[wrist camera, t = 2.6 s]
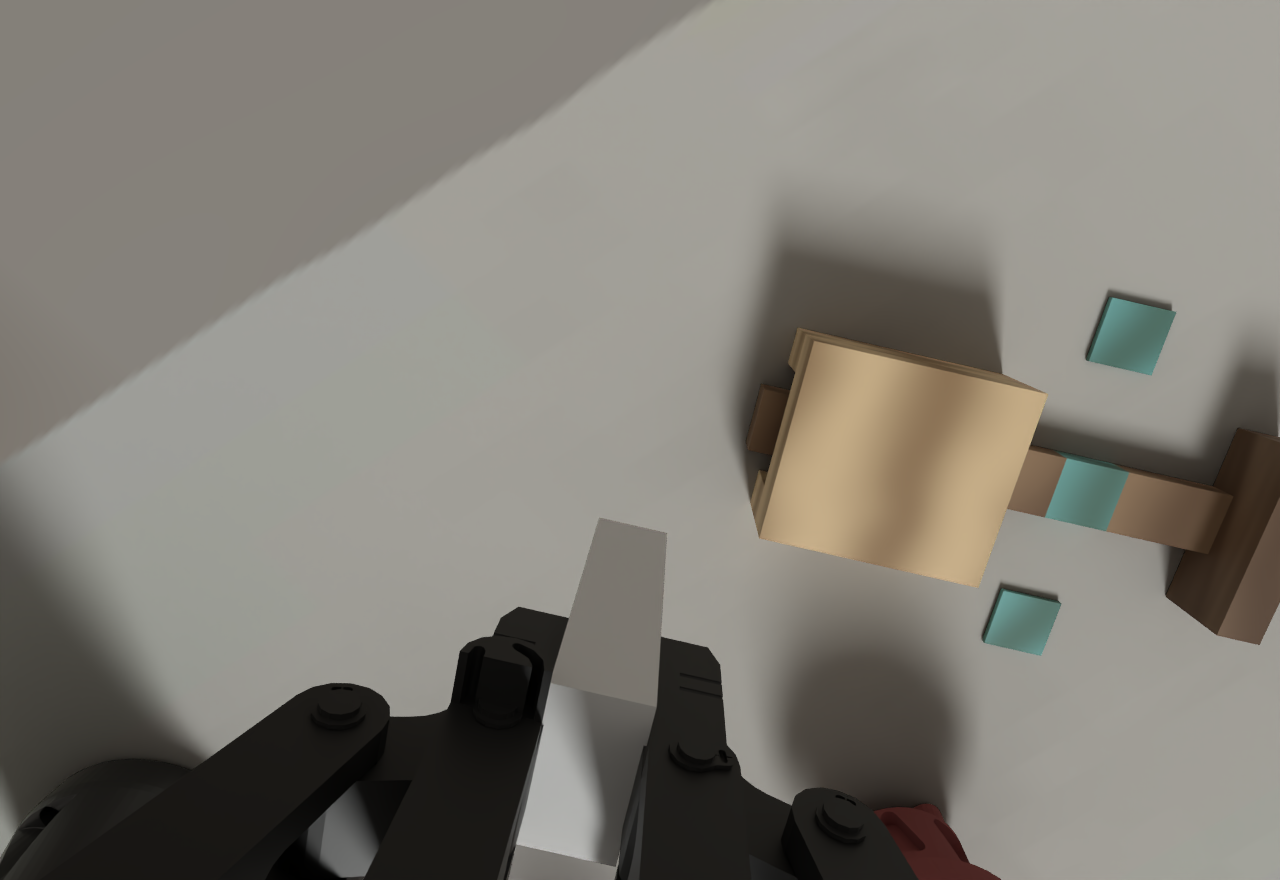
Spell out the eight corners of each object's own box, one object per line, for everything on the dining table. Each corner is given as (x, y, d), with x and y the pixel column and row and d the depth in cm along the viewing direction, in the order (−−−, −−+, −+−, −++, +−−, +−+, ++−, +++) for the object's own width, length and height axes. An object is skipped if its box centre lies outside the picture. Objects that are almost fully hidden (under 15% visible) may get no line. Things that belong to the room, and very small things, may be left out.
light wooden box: (750, 501, 40) (759, 538, 35) (797, 327, 38) (813, 340, 33) (942, 545, 40) (978, 587, 35) (1001, 373, 38) (1048, 394, 33)
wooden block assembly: (709, 578, 41) (712, 614, 37) (802, 227, 37) (816, 226, 33) (1169, 682, 41) (1219, 728, 37) (1319, 345, 37) (1394, 358, 33)
